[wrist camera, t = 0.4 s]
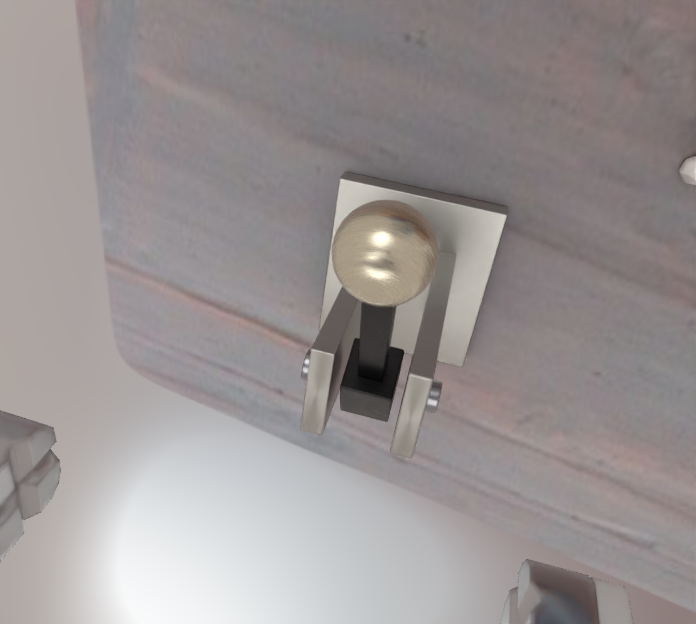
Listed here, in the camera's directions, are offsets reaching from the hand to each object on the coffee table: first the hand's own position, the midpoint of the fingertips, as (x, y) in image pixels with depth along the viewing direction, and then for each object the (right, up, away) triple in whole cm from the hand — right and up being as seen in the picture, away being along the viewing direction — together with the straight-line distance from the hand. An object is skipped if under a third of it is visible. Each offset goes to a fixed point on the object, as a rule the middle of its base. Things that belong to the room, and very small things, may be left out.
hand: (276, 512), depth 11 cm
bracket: (+5, +6, +26) cm, 27 cm away
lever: (+3, +4, +14) cm, 14 cm away
